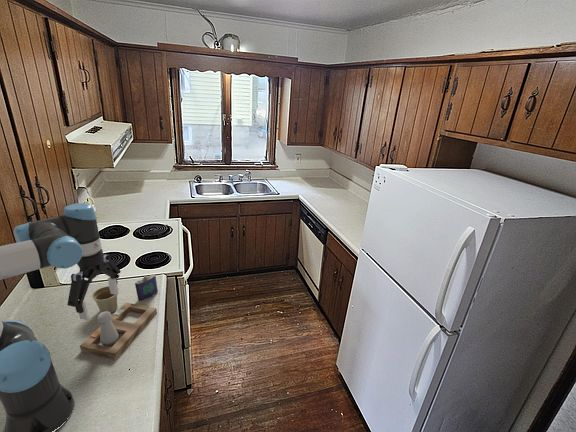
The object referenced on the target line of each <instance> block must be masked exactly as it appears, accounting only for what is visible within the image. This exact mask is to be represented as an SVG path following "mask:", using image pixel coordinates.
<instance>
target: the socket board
mask: <svg viewBox="0 0 576 432" xmlns="http://www.w3.org/2000/svg"><path fill="white" fill-rule="evenodd" d="M157 310H158V309H157V307H153V306H147V305H142V304H137V303H130V302H125V303H124V304H122V306H120V308H118V309H116V311H114V312H113V314H111V315H112V318H111V321H112V323H113V325H114V327H115V329H116V331H117V332H118V335H121V336H120V338H118V340H117V342H116V343H115V344H114V345H112V346H110V347H108V346H104V345H103V344H102V345H101V344H99V343H101V341H100V328H101V325H100V326H99V327H98V328H97V329H96V330H95V331H94V332H92V333H91V335H90V336H89V337H87V339H85V340H84V341H83V342H82V343H81V344H80V345H79V348H80V352H83V353H86V352H87V354H92V355H97V356H100V355H101V357H105V356H106V357H105V358H110V357H111V359H114V358H117V357H120V355H121V354H123V352H124V351H125V350H126V349H125V348H127V347H128V346H129V345H130V344H131V343H132V342H133V341H134V339H135V338H136V337H137V336H138V335H139V334H140V333H141V331H142V330H143V329H144V328H145V327H146V326H147V325H148V324H149V323H150V321H151V320H152V319H153V318H154V317H155V316H156V315H157V313H158V311H157ZM129 313H134V314H135V313H136V314H141V316H139V317H138V319H137V320H135V321H134V323H132V322H128V321H124V318H125V317H126V316H128V315H129ZM139 332H140V333H139ZM124 349H125V350H124ZM117 359H118V358H117Z"/></svg>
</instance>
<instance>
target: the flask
mask: <svg viewBox="0 0 576 432" xmlns="http://www.w3.org/2000/svg"><path fill="white" fill-rule="evenodd" d="M156 276H157V275H156V274H150V275H149V276H147V274H145V275H144V277H142V279H138V280H137V281H135V283H134V285H135V291H136V295H137V300H138V301H139V302H143V301H145V300H147V299H149V298H151V297H152V296H154V295H157V294H158V292H159V290H158V284H157V282H158V281H157V278H156Z"/></svg>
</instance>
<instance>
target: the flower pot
mask: <svg viewBox="0 0 576 432" xmlns="http://www.w3.org/2000/svg"><path fill="white" fill-rule="evenodd" d="M118 292H119V289H118ZM91 298H92V299H93V300H94V302H95V303H96V305H97V308H98V310H99V312H100V313H102V312H105V311H108V312H110V313H111V314H112V313H115V312H116V311H117V310H118V295H115V294H111V293H110V288H109V285H107V286H103V287H100V288H98V289H96V290H95V291H93V293H92V294H91Z"/></svg>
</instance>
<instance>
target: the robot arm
mask: <svg viewBox="0 0 576 432" xmlns="http://www.w3.org/2000/svg"><path fill="white" fill-rule="evenodd" d="M99 232H100V231H99V226H98V221H97V216H96V212H95V210H94V206H93V205H91V204H90V203H85V202H78V203H72V204H70V205H66V206H65V207H64V208H63V214H61V215H58V216H55V217H54V216H53V217H48V218H46V219H45V218H44V219H39V220H36V221H29V222H26V223H23V224H19V225H16V226H15V227H14V229H13V235H14V239H15V242H14V243H8V244H5V245H1V246H0V281H2V280H4V279H8V278H11V277H16V276H18V275H22V274H26V273H30V272H33V271H36V270H37V271H38V270H41V269H46V268H49V267H54V268H57V269H69V268H72V267H74V266H76V264H77V266H78V268H79V271H78V272H77V273H72V274H71V275H70V280H71V282H70V288H69V294H68V298H67V306H69V307H72V308H73V307H74V308H75V312H76V313H77V314H78V315H79V319H80V320H84V321H88V320H90V316H89V312H88V307H87V304H86V302H85V300H84V299H85V297H86V295H87V292H88V289H89V288H90V287H89V286H90V284H92V281H93V280H94V279H95V278H96V277H98V276H100V275H101V273H102V274H104V275H106V276H107V281H108V286H109V288H110V293H111V294H115V295H117V296H118V295H119V294H120V293H119V291H118V290H119V287H118V279H119V278H120V274H121V273H122V272H121V270H120V268H119V267H118V265H117V264H116V263H115V262H114V261H113V260H112V257H111V255H108V254H104V252H103V251H104V250H103V247H102V242H101V238H100V237H101V236H100V233H99ZM104 264H105V266H107V268H106V267H104ZM85 278H86V279H85ZM58 377H59V376H58V375H57V373H56V370H55V366H54V364H53V361H52V355H51V352H50V350H49V349H48V347H46V345H45V344H44V343H43V342H40V341H39V340H38V339H37V337H36V336H35V334H34V331H33V330H32V329H31V328H30V327H29V326H28V325H26V324H25V323H23V322H22V321H19V320H14V319H13V320H9V319H8V320H4V321H2V320H0V402H1V404H2V407H3V408H4V411H5V413H6V414H5V415H6V416H5V423H4V424H5V425H4V432H52V431H54V430H55V429H57V428H58V427H60V426H61V425H62V424H63V423H64V422H65V421H66V420H67V418H68V417H69V416H70V414H71V412H72V410H73V411H74V409H73V407H74V408H75V399H74V396H73V394H72V392H71V391H70V390H69V389H68V388H66V387H65V386H64V385H62V384H61V383H60V381H59V378H58ZM72 413H73V412H72ZM71 415H72V414H71ZM70 417H71V416H70ZM70 417H69V418H70ZM67 421H68V420H67ZM67 421H66V422H67Z"/></svg>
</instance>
